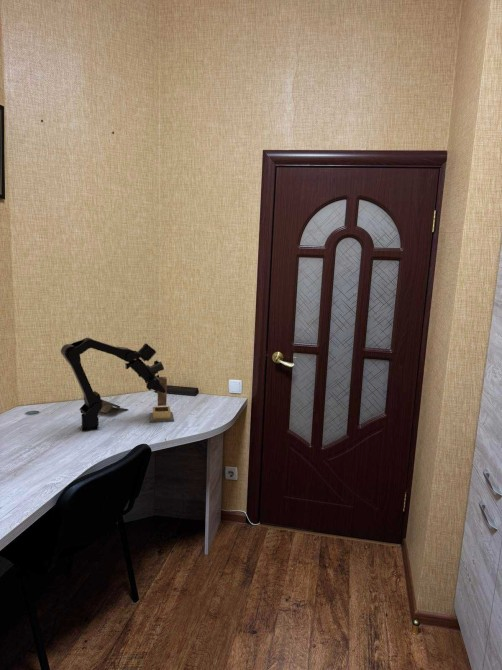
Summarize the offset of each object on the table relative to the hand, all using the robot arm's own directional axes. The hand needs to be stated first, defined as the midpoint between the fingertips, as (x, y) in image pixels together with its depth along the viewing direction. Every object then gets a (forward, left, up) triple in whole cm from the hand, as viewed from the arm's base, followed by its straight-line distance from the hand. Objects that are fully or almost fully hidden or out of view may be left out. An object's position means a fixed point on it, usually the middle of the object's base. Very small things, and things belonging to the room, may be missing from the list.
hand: (165, 391), depth 215 cm
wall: (-23, +20, -14) cm, 34 cm away
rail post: (-1, 0, -7) cm, 7 cm away
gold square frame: (-1, +1, -13) cm, 14 cm away
